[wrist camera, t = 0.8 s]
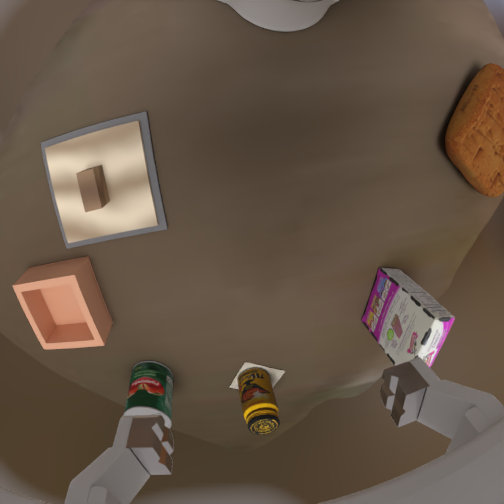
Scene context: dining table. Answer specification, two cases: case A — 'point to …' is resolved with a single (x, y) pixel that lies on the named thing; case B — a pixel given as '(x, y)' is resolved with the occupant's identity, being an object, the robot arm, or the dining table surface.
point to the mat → (150, 165)
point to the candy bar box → (405, 318)
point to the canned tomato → (150, 391)
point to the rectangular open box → (64, 304)
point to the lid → (102, 183)
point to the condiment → (258, 397)
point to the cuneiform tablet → (480, 132)
